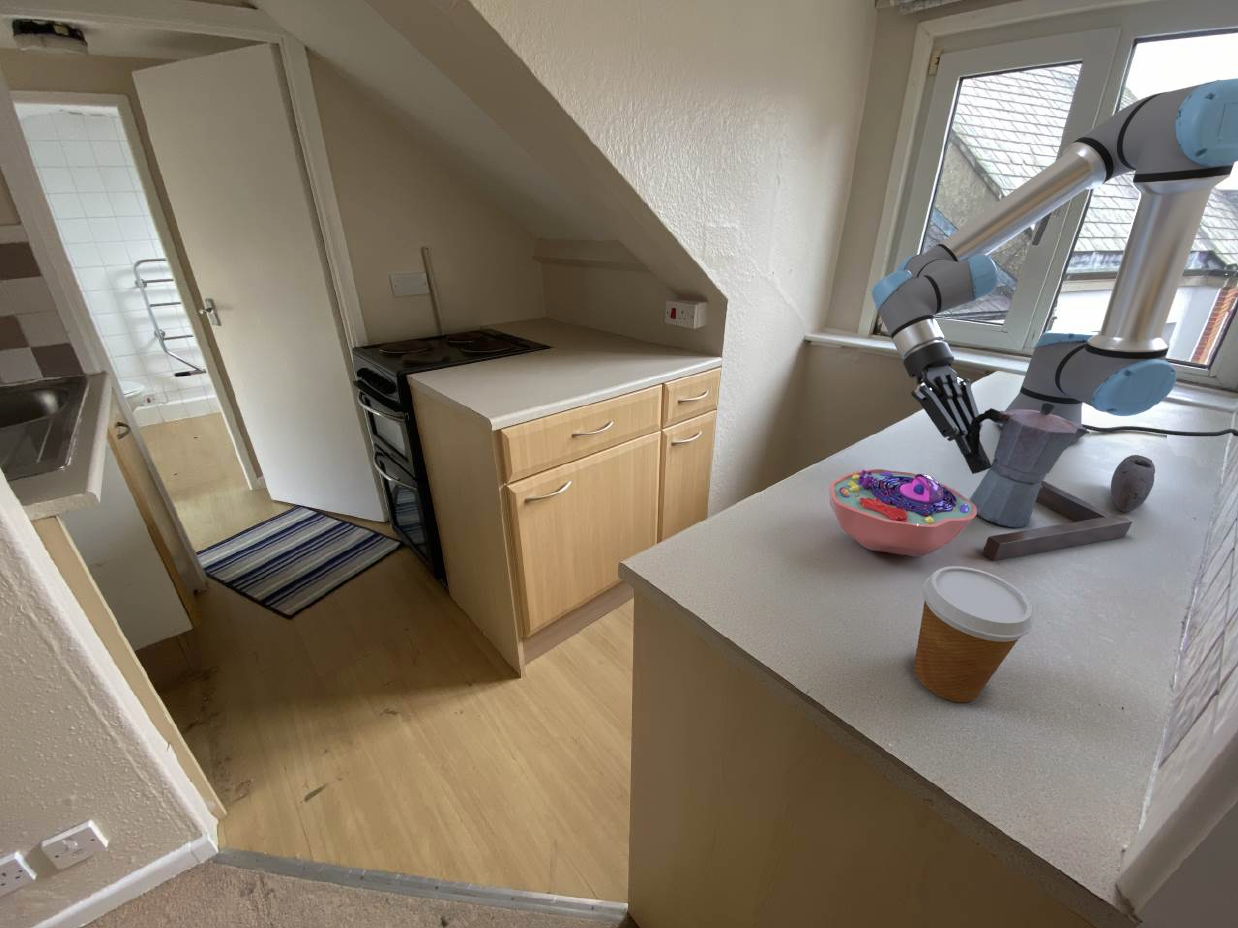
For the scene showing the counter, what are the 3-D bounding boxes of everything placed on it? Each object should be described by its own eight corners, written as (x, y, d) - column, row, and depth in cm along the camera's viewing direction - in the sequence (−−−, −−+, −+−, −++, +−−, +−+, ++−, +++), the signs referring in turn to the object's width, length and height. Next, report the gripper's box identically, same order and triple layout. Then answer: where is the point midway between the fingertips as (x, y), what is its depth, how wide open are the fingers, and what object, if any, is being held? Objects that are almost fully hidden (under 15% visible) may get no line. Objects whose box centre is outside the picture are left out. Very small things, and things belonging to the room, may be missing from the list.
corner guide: (1025, 486, 98) (1031, 472, 97) (1124, 537, 84) (1133, 521, 82) (908, 503, 92) (913, 488, 91) (993, 560, 77) (1000, 544, 76)
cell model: (805, 511, 89) (817, 450, 84) (925, 514, 89) (944, 453, 84) (839, 574, 74) (857, 504, 69) (984, 578, 74) (1012, 509, 69)
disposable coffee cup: (881, 647, 62) (907, 564, 57) (959, 644, 62) (993, 562, 57) (928, 718, 53) (964, 628, 48) (1018, 714, 54) (1064, 625, 49)
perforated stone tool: (1138, 523, 87) (1158, 486, 84) (1098, 511, 90) (1115, 475, 87) (1145, 492, 97) (1162, 458, 94) (1108, 483, 100) (1124, 449, 97)
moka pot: (1060, 537, 83) (1115, 419, 74) (952, 521, 87) (991, 407, 78) (1035, 507, 92) (1082, 397, 83) (937, 494, 95) (971, 388, 86)
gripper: (930, 358, 102) (986, 471, 96) (882, 365, 97) (937, 484, 91) (965, 336, 95) (1027, 456, 89) (914, 342, 91) (977, 470, 84)
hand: (982, 470), depth 90 cm, fingers closed
